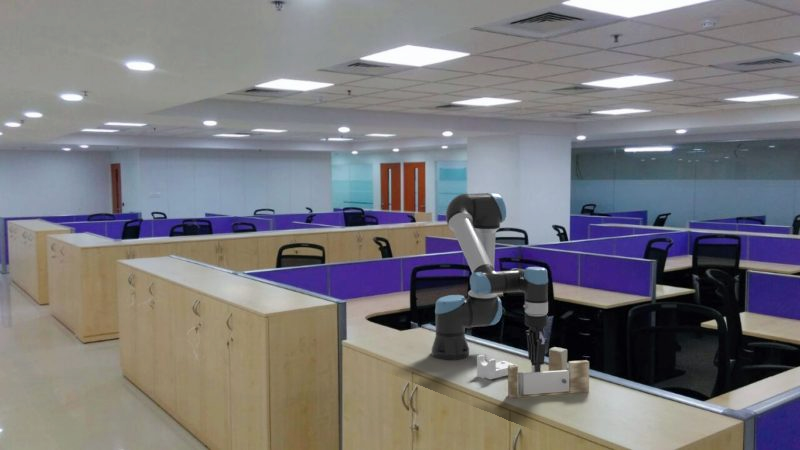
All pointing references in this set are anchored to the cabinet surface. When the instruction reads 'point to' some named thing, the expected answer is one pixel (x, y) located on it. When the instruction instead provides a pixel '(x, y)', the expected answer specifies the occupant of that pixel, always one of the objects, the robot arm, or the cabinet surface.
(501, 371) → the bracket
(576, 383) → the door frame
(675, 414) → the cabinet surface
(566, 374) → the door
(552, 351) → the box
